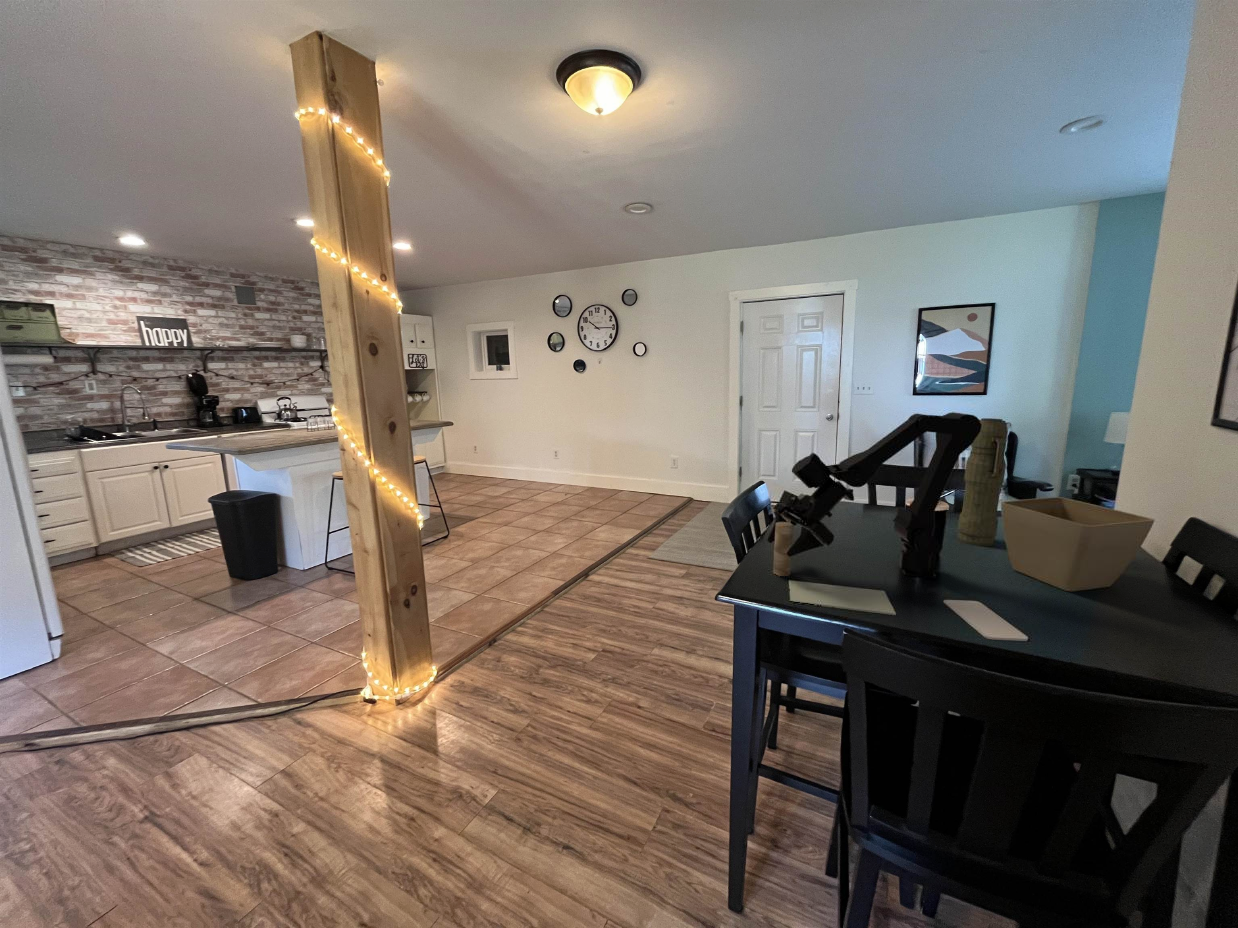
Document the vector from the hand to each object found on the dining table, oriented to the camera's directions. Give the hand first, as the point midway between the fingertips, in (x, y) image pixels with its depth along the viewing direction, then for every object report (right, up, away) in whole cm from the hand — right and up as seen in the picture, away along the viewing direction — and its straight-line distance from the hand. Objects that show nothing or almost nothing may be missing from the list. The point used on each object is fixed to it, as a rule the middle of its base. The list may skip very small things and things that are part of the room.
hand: (777, 548), depth 115 cm
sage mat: (+9, -9, -11) cm, 17 cm away
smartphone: (+34, -11, -21) cm, 41 cm away
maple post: (+1, -6, +1) cm, 7 cm away
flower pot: (+66, -7, -3) cm, 66 cm away
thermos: (+64, -2, +22) cm, 68 cm away
